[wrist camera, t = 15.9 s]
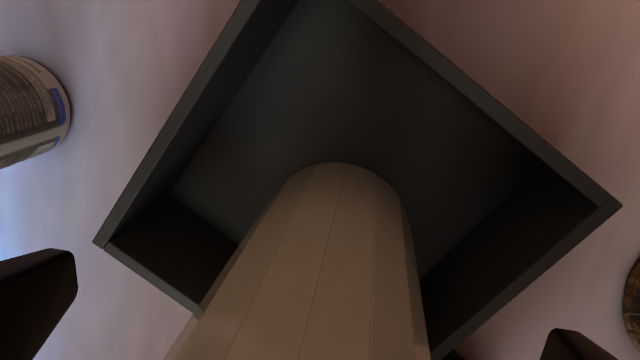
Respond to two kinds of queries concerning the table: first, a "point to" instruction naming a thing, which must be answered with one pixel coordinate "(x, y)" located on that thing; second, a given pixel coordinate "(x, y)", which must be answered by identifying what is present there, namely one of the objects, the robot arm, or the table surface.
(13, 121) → the pill bottle
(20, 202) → the table surface
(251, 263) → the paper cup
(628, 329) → the vase
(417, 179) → the bin
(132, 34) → the table surface
